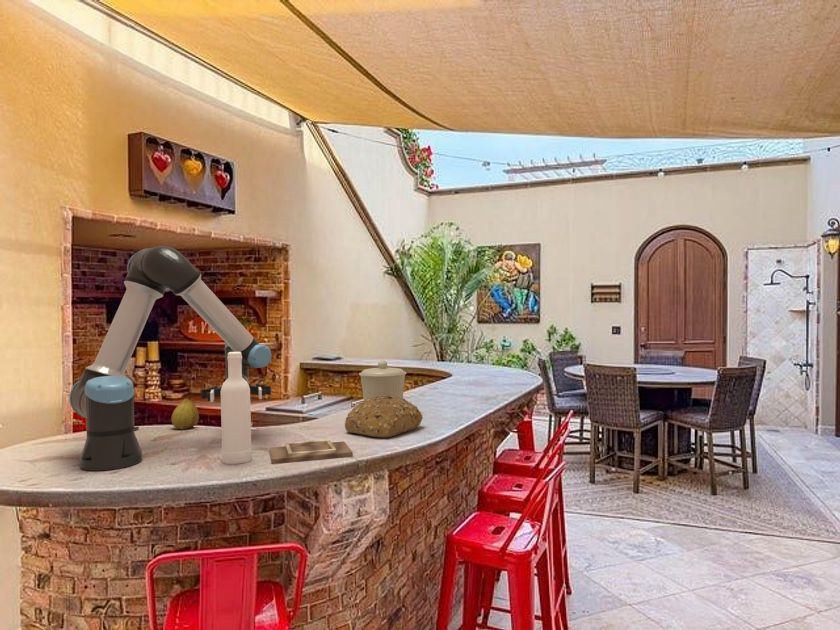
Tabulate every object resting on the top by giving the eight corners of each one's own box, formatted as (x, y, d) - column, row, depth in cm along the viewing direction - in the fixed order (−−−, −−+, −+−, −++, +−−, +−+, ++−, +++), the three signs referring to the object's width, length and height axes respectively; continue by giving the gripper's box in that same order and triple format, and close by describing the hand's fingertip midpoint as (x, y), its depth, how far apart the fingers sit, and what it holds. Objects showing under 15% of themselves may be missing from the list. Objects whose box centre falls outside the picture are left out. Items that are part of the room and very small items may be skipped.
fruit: (166, 430, 204) (165, 396, 204) (182, 425, 213) (182, 392, 213) (188, 431, 202) (187, 396, 202) (203, 425, 211) (203, 392, 211)
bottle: (216, 461, 161) (213, 352, 161) (240, 455, 167) (237, 350, 167) (233, 466, 156) (231, 353, 156) (257, 459, 163) (255, 351, 162)
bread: (378, 421, 213) (377, 389, 213) (428, 427, 202) (427, 392, 202) (334, 435, 193) (334, 398, 192) (388, 442, 181) (387, 403, 181)
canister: (362, 411, 233) (361, 358, 233) (407, 411, 233) (406, 358, 233) (357, 420, 215) (356, 363, 215) (406, 420, 215) (405, 362, 215)
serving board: (271, 463, 158) (271, 455, 158) (269, 451, 171) (269, 444, 171) (352, 456, 164) (352, 448, 164) (344, 445, 177) (344, 438, 177)
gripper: (276, 395, 195) (280, 405, 174) (196, 400, 188) (190, 411, 167) (276, 373, 195) (279, 380, 174) (195, 377, 187) (190, 385, 167)
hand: (236, 395), depth 171 cm, fingers open, 13 cm apart
